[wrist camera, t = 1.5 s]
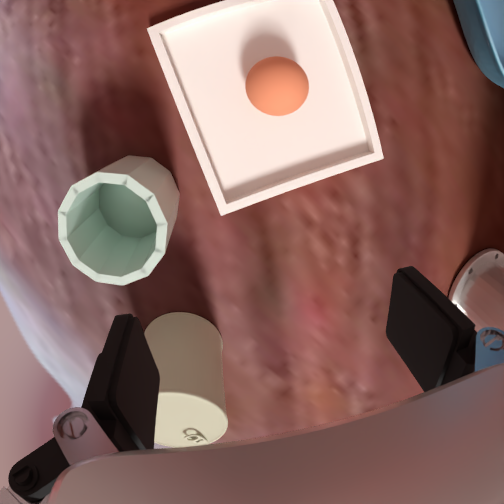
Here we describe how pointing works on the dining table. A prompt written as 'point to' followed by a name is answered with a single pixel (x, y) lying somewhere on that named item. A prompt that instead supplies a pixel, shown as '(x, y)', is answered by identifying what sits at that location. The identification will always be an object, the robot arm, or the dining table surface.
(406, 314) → the robot arm
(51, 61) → the dining table surface
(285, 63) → the ball
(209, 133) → the tray
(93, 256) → the cup
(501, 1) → the casserole dish
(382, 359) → the dining table surface
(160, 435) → the can
